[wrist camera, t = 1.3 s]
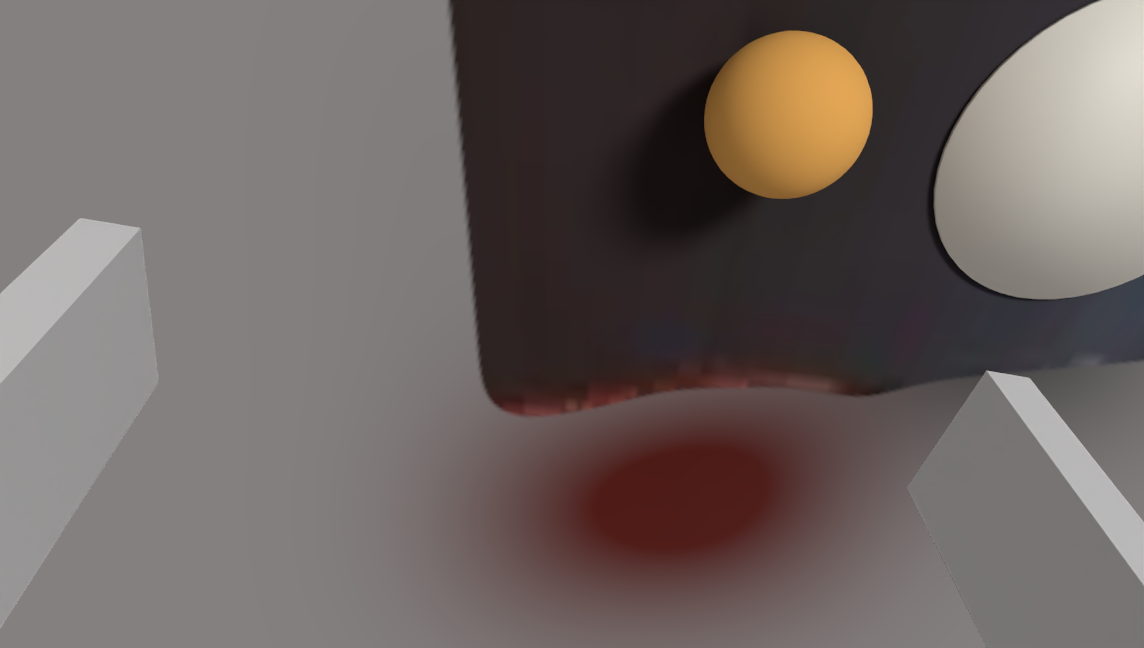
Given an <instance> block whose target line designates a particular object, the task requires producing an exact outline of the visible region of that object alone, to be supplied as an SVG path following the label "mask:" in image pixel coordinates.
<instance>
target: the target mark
mask: <svg viewBox="0 0 1144 648" xmlns="http://www.w3.org/2000/svg"><path fill="white" fill-rule="evenodd" d="M933 208H934V215H935V222H936V227H937V230H938V233H939V236H940V239H941V241H942V243H943V245H944V247H945V249H946V251H947V253H948V254H949V256H950V257H951V258H952V259H953V260H954V262H955V263H956V264H957V265H958V267H959V268H960V269H961V270H962V271H963V272H965V273H966V274H967V275H968V276H969V277H970V278H972V279H973V280H975V281H976V282H978V283H980V284H981V285H983V286H985V287H987V288H989V289H992V290H994V291H997V292H999V293H1002V294H1006V295H1011V296H1015V297H1020V298H1029V299H1061V298H1070V297H1077V296H1082V295H1086V294H1091V293H1096V292H1099V291H1102V290H1105V289H1109V288H1112V287H1115V286H1118V285H1120V284H1123V283H1125V282H1128V281H1130V280H1133V279H1135V278H1138V277H1140V276H1142V275H1144V0H1098V1H1095V2H1092V3H1090V4H1088V5H1086V6H1084V7H1082V8H1080V9H1078V10H1076V11H1074V12H1072V13H1070V14H1068V15H1066V16H1064V17H1062V18H1061V19H1059V20H1058V21H1056V22H1054V23H1053V24H1051V25H1050V26H1048V27H1046V28H1045V29H1043V30H1042V31H1040V32H1039V33H1037V34H1036V35H1035V36H1034V37H1032V38H1031V39H1030V40H1028V41H1027V42H1026V43H1024V44H1023V45H1022V46H1020V47H1019V48H1018V49H1017V50H1016V51H1015V52H1014V53H1012V54H1011V55H1010V56H1009V57H1008V58H1007V59H1006V60H1005V61H1004V62H1003V63H1002V64H1001V65H999V66H998V67H997V69H996V70H995V71H994V72H993V73H992V74H991V75H990V76H989V77H988V79H987V80H986V81H985V82H984V83H983V84H982V85H981V86H980V88H979V89H978V90H977V92H976V93H975V94H974V96H973V97H972V99H971V100H970V101H969V103H968V104H967V105H966V107H965V108H964V110H963V112H962V113H961V115H960V117H959V118H958V120H957V122H956V124H955V125H954V127H953V129H952V131H951V133H950V135H949V138H948V140H947V142H946V144H945V147H944V149H943V152H942V155H941V158H940V162H939V165H938V168H937V173H936V179H935V185H934V204H933Z"/></svg>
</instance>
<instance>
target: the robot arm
mask: <svg viewBox="0 0 1144 648" xmlns="http://www.w3.org/2000/svg"><path fill="white" fill-rule="evenodd" d="M158 382H159V378H158V369H157V361H156V353H155V344H154V336H153V327H152V319H151V311H150V303H149V294H148V285H147V278H146V269H145V260H144V252H143V244H142V235H141V228H137V227H131V226H125V225H118V224H112V223H107V222H101V221H94V220H89V219H83V218H80V219H79V220H78V221H77V222H76V223H75V224H73V225H72V226H71V227H70V228H69V229H68V230H67V231H66V232H65V233H64V234H63V235H62V236H61V237H60V238H59V239H58V240H57V241H55V243H53V244H52V245H51V246H50V247H49V248H48V249H47V250H46V251H45V252H44V253H43V254H42V255H41V256H40V257H39V258H37V260H35V261H34V262H33V263H32V264H31V265H30V266H29V267H28V268H27V269H26V270H25V271H24V272H23V273H22V274H20V276H18V277H17V278H16V279H15V280H14V281H13V282H12V283H11V284H10V285H9V286H8V287H7V288H6V289H5V290H4V291H3V292H1V293H0V628H1V626H2V625H3V623H4V622H5V620H6V618H7V617H8V615H9V614H10V612H11V611H12V609H13V608H14V606H15V605H16V603H17V602H18V600H19V598H20V597H21V595H22V594H23V592H24V591H25V589H26V587H27V586H28V584H29V583H30V581H31V580H32V578H33V577H34V575H35V574H36V572H37V570H38V569H39V567H40V566H41V564H42V563H43V561H44V560H45V558H46V557H47V555H48V553H49V552H50V550H51V549H52V547H53V546H54V544H55V543H56V541H57V539H58V538H59V536H60V535H61V533H62V532H63V530H64V528H65V527H66V525H67V524H68V522H69V521H70V519H71V517H72V516H73V515H74V513H75V511H76V510H77V508H78V507H79V505H80V504H81V502H82V501H83V499H84V497H85V496H86V494H87V493H88V491H89V489H90V488H91V487H92V485H93V484H94V482H95V480H96V479H97V477H98V476H99V474H100V473H101V471H102V470H103V468H104V466H105V465H106V463H107V462H108V460H109V459H110V457H111V456H112V454H113V452H114V451H115V449H116V448H117V446H118V445H119V443H120V441H121V440H122V438H123V437H124V435H125V434H126V432H127V431H128V429H129V428H130V426H131V424H132V423H133V421H134V420H135V418H136V417H137V415H138V414H139V412H140V411H141V409H142V407H143V406H144V404H145V403H146V401H147V400H148V398H149V396H150V395H151V393H152V392H153V390H154V389H155V387H156V386H157V384H158ZM907 489H908V491H909V493H910V495H911V497H912V499H913V501H914V503H915V505H916V507H917V509H918V511H919V513H920V515H921V517H922V519H923V521H924V523H925V525H926V527H927V529H928V531H929V533H930V535H931V537H932V539H933V541H934V543H935V545H936V547H937V549H938V551H939V553H940V555H941V557H942V559H943V561H944V563H945V565H946V567H947V569H948V571H949V573H950V575H951V577H952V579H953V581H954V583H955V585H956V587H957V589H958V591H959V593H960V595H961V597H962V599H963V601H964V603H965V605H966V607H967V609H968V611H969V613H970V615H971V617H972V619H973V621H974V623H975V625H976V627H977V629H978V631H979V633H980V635H981V637H982V638H983V641H984V643H985V645H986V647H987V648H1144V522H1143V520H1142V519H1141V518H1140V517H1139V515H1138V514H1137V513H1136V511H1135V510H1134V509H1133V508H1132V506H1131V505H1130V504H1129V503H1128V501H1127V500H1126V499H1125V498H1124V496H1123V495H1122V494H1121V493H1120V491H1119V490H1118V489H1117V488H1116V486H1115V485H1114V484H1113V483H1112V481H1111V480H1110V479H1109V478H1108V476H1107V475H1106V474H1105V473H1104V471H1103V470H1102V469H1101V467H1100V466H1099V465H1098V464H1097V463H1096V461H1095V460H1094V459H1093V458H1092V457H1091V455H1090V454H1089V453H1088V451H1087V450H1086V449H1085V447H1084V446H1083V445H1082V444H1081V442H1080V441H1079V440H1078V439H1077V437H1076V436H1075V435H1074V434H1073V432H1072V431H1071V430H1070V428H1069V427H1068V426H1067V425H1066V423H1065V422H1064V421H1063V420H1062V419H1061V417H1060V416H1059V415H1058V413H1057V412H1056V411H1055V410H1054V408H1053V407H1052V406H1051V405H1050V403H1049V402H1048V401H1047V400H1046V398H1045V397H1044V396H1043V394H1042V393H1041V392H1040V391H1039V389H1038V388H1037V387H1036V386H1035V384H1034V383H1033V382H1032V381H1031V379H1030V378H1026V377H1021V376H1015V375H1009V374H1003V373H997V372H991V371H986V372H985V374H984V375H983V377H982V378H981V379H980V381H979V382H978V384H977V385H976V387H975V388H974V390H973V391H972V393H971V394H970V396H969V397H968V399H967V400H966V402H965V403H964V405H963V406H962V408H961V409H960V410H959V412H958V413H957V415H956V416H955V418H954V419H953V421H952V422H951V424H950V425H949V427H948V428H947V430H946V431H945V433H944V434H943V436H942V437H941V438H940V440H939V441H938V443H937V444H936V446H935V447H934V449H933V450H932V452H931V453H930V455H929V456H928V458H927V459H926V460H925V462H924V463H923V465H922V466H921V468H920V469H919V471H918V472H917V474H916V475H915V477H914V478H913V480H912V481H911V483H910V484H909V486H908V487H907Z"/></svg>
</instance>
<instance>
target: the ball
mask: <svg viewBox="0 0 1144 648" xmlns="http://www.w3.org/2000/svg"><path fill="white" fill-rule="evenodd" d="M871 122H872V96H871V90H870V87H869V84H868V81H867V78H866V76H865V74H864V72H863V70H862V68H861V67H860V65H859V64H858V63H857V61H856V60H855V59H854V57H853V56H852V55H851V54H850V53H849V52H848V51H847V50H846V49H845V48H843V47H842V46H840V45H839V44H837V43H836V42H834V41H833V40H831V39H829V38H827V37H825V36H822V35H818V34H815V33H811V32H804V31H784V32H777V33H774V34H770V35H766V36H764V37H761V38H759V39H756V40H755V41H753V42H751V43H749V44H747V45H746V46H744V47H743V48H742V49H740V50H739V51H738V52H736V53H735V54H734V55H733V56H732V57H731V58H730V59H729V60H728V61H727V62H726V64H725V65H724V66H723V67H722V69H721V70H720V72H719V73H718V75H717V76H716V78H715V80H714V82H713V84H712V86H711V88H710V91H709V94H708V97H707V101H706V106H705V115H704V129H705V135H706V140H707V144H708V147H709V150H710V152H711V154H712V156H713V158H714V160H715V162H716V163H717V165H718V166H719V168H720V169H721V171H722V172H723V173H724V174H725V175H726V176H727V177H728V178H729V179H730V180H732V181H733V182H734V183H735V184H737V185H738V186H740V187H741V188H743V189H745V190H747V191H749V192H752V193H754V194H756V195H759V196H763V197H767V198H776V199H789V198H798V197H802V196H806V195H809V194H812V193H815V192H817V191H819V190H821V189H823V188H825V187H827V186H829V185H830V184H832V183H833V182H835V181H836V180H837V179H839V178H840V177H841V176H842V175H843V174H844V173H845V172H846V171H847V170H848V169H849V168H850V167H851V166H852V165H853V163H854V162H855V161H856V159H857V158H858V156H859V155H860V153H861V151H862V149H863V147H864V145H865V143H866V140H867V137H868V135H869V131H870V127H871Z"/></svg>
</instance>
